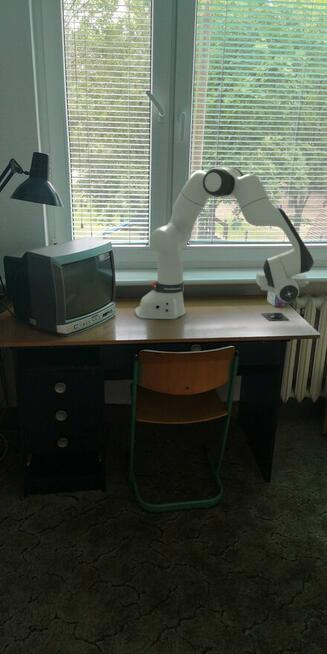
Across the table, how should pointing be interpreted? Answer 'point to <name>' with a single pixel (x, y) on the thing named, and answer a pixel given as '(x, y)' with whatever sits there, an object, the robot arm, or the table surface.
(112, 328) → the table surface
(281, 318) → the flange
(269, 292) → the ink cartridge box
